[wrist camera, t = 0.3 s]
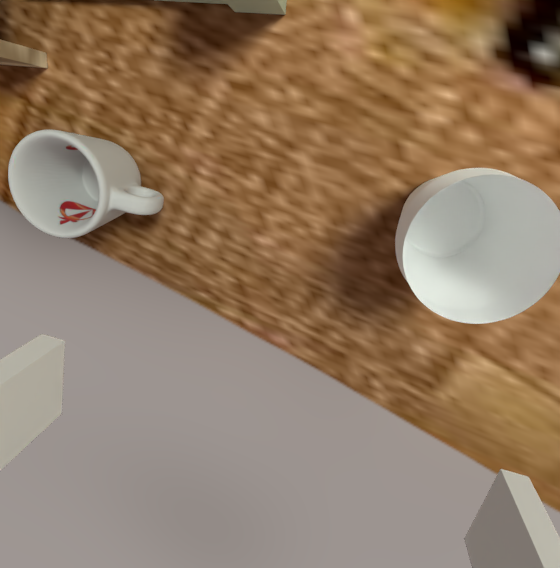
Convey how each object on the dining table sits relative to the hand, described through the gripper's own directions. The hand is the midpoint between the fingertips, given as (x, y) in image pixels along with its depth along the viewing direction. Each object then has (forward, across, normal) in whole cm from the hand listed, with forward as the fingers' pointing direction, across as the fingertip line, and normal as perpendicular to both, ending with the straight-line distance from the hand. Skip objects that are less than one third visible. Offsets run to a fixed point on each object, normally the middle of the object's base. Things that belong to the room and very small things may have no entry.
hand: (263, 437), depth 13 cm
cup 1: (+27, -19, +1) cm, 33 cm away
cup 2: (+27, +9, +4) cm, 29 cm away
